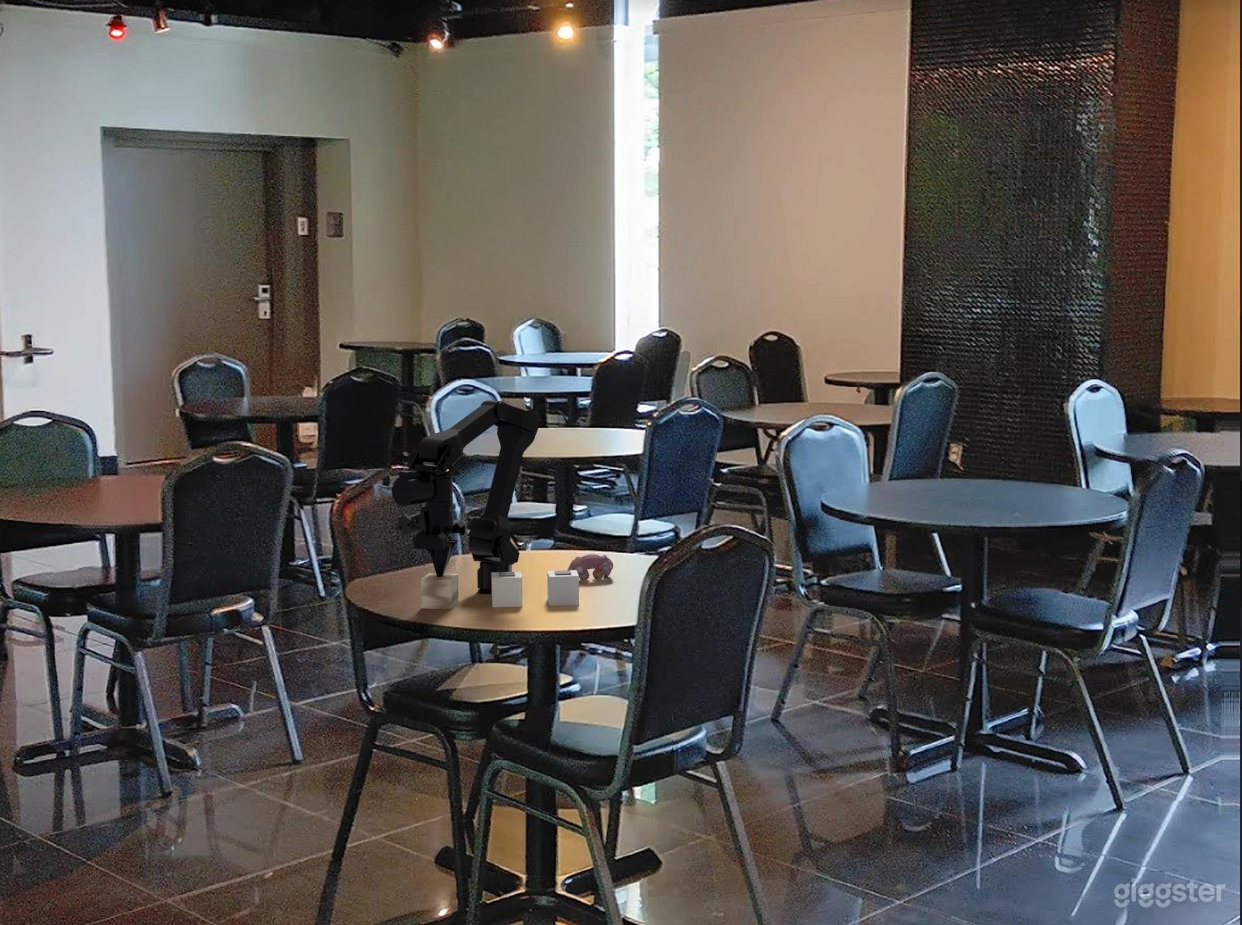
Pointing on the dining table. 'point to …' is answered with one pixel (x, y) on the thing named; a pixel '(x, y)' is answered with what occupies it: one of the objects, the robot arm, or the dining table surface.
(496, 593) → the off-white numbered cube
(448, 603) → the plain ash cube
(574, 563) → the video game controller
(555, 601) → the grey numbered cube
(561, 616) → the dining table surface
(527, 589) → the dining table surface
